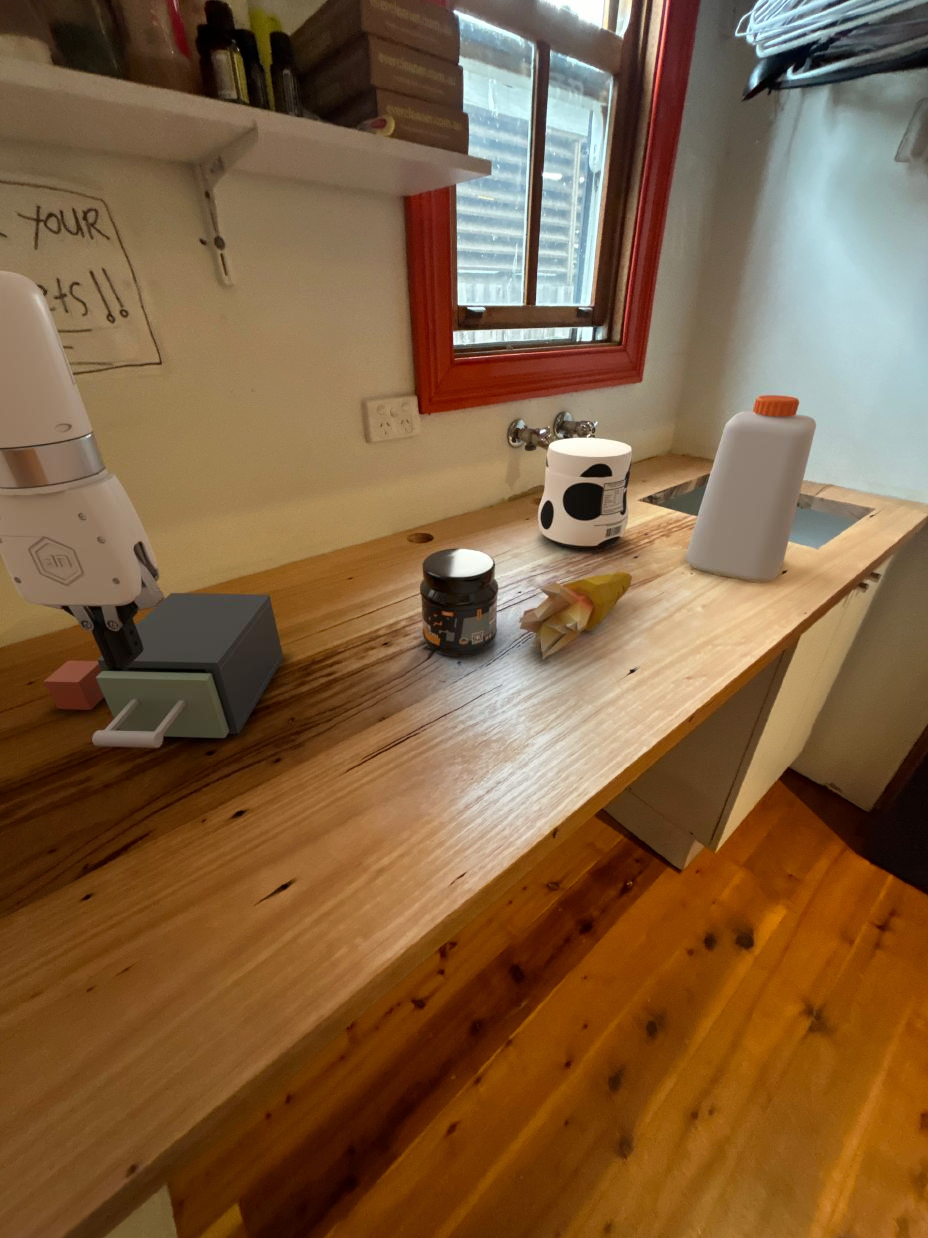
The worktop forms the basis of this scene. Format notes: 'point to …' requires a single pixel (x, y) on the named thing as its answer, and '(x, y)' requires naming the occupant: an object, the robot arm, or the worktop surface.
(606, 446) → the milk container
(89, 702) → the block
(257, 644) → the cabinet
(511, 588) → the worktop surface
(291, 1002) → the worktop surface
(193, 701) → the drawer
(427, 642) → the supplement container
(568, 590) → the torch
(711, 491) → the plastic bottle
